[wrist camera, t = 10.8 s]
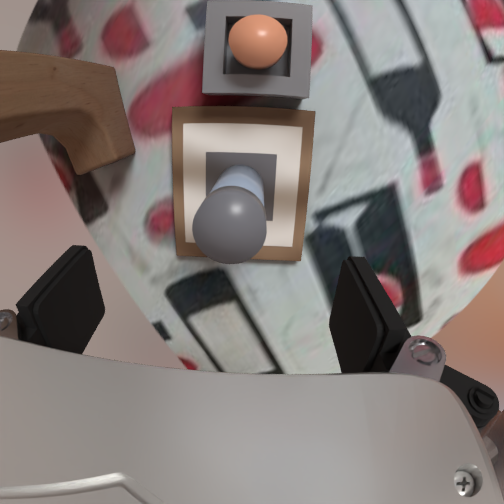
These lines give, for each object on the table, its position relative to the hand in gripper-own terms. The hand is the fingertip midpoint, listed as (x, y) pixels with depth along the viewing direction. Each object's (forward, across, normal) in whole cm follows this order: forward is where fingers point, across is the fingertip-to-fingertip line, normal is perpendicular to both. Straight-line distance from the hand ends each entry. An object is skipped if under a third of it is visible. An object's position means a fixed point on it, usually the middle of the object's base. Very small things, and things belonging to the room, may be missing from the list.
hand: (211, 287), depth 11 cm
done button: (+15, -1, -11) cm, 19 cm away
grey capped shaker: (+17, 0, +1) cm, 17 cm away
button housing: (+18, -1, -11) cm, 21 cm away
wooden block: (+18, +13, -6) cm, 23 cm away
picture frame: (+18, 0, +1) cm, 18 cm away
